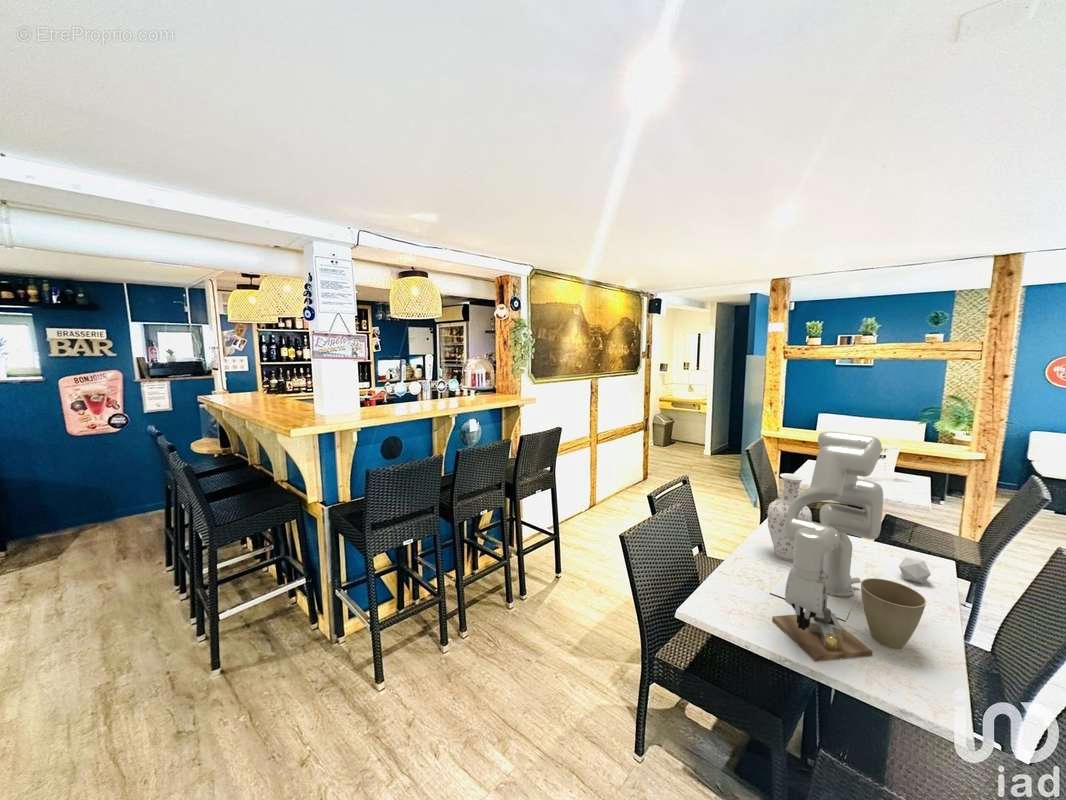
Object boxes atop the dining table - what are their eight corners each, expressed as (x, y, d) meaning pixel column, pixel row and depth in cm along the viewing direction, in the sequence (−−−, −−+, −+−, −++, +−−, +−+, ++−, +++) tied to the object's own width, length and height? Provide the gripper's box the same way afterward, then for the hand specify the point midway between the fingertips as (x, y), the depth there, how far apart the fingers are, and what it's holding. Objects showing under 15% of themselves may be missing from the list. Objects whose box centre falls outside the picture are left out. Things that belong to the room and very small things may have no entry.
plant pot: (849, 620, 137) (854, 574, 135) (907, 632, 132) (912, 584, 130) (865, 650, 124) (870, 599, 122) (930, 664, 118) (936, 611, 116)
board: (822, 616, 139) (824, 595, 138) (872, 655, 121) (874, 631, 121) (772, 620, 137) (773, 599, 136) (815, 661, 119) (817, 636, 118)
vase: (818, 565, 172) (825, 482, 168) (779, 566, 171) (785, 482, 167) (791, 546, 188) (797, 470, 184) (756, 547, 187) (761, 471, 183)
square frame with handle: (804, 616, 137) (805, 606, 136) (833, 622, 133) (834, 612, 133) (814, 646, 123) (815, 635, 122) (847, 654, 120) (849, 642, 119)
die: (919, 590, 155) (940, 570, 154) (893, 570, 161) (913, 551, 159) (915, 588, 162) (935, 569, 161) (890, 569, 167) (909, 551, 166)
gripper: (841, 577, 122) (836, 635, 125) (785, 557, 134) (782, 610, 137) (831, 586, 118) (826, 646, 120) (775, 565, 130) (771, 619, 132)
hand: (802, 627), depth 129 cm, fingers closed
